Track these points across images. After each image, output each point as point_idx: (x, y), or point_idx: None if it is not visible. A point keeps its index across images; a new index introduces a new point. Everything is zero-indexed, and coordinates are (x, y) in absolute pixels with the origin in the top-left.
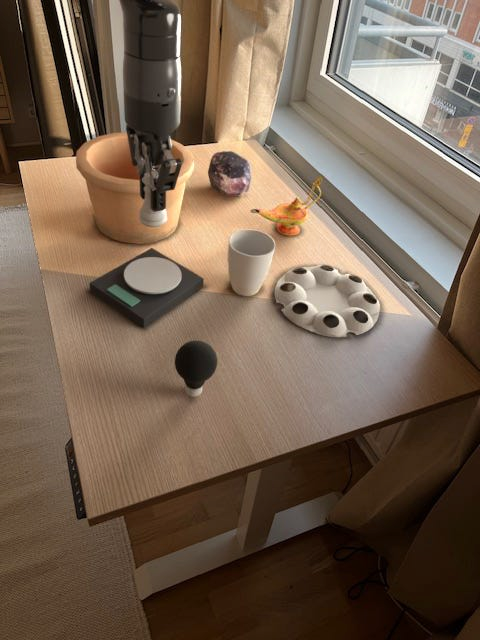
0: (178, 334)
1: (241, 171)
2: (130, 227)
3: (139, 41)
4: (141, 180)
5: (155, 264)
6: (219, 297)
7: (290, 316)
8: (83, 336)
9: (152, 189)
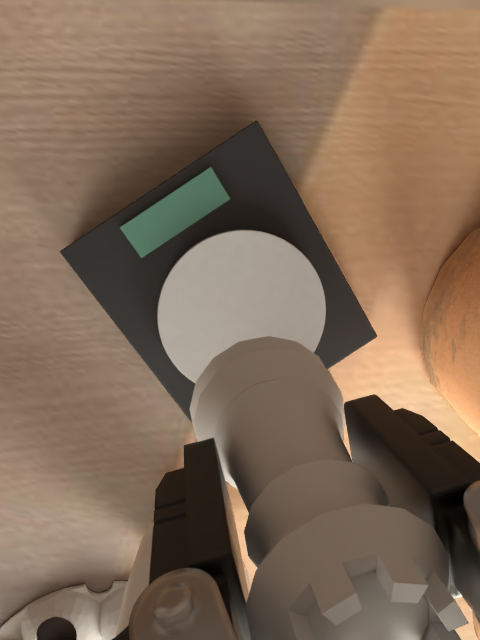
0: (31, 333)
1: None
2: (465, 293)
3: None
4: (417, 480)
5: (286, 332)
6: (159, 460)
7: (47, 603)
8: (57, 69)
9: (172, 581)
